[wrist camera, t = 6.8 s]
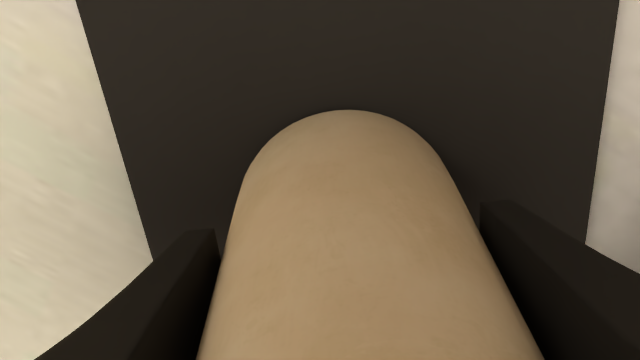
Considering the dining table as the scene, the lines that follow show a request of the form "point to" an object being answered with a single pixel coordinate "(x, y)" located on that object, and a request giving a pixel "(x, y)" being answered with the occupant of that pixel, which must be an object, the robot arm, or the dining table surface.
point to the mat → (353, 93)
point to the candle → (357, 255)
